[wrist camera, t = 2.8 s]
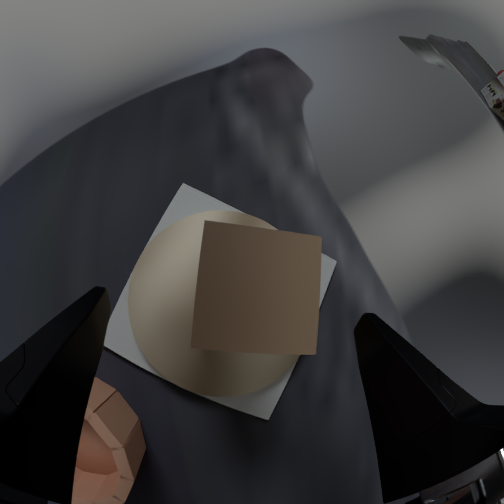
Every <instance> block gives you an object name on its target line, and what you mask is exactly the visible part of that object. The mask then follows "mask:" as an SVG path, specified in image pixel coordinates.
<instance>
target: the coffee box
mask: <svg viewBox="0 0 504 504" xmlns="http://www.w3.org/2000/svg"><path fill="white" fill-rule="evenodd" d="M481 93H482V94H483V96H484V98H485V100H486V102H487V103H488V105H489V107H490V109H491V110H492V111H494V112H495V113H496V114H497V115H498V116H499V117H500V118H501V119H502V120H503V121H504V71H503V72H502V73H501V74H500V75H499V76H497V77H496V78H495V79H494V80H493V81H492V82H490V83H489V84H488V85H487V86H486V87H484V88H483V89H482V90H481Z"/></svg>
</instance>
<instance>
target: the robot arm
mask: <svg viewBox="0 0 504 504" xmlns="http://www.w3.org/2000/svg"><path fill="white" fill-rule="evenodd" d="M110 313H111V304H110V299H109V293H108V290H107V288H104V287H98V286H96V287H94V288H93V289H91V290H90V291H88V292H87V293H86V294H84V295H83V296H82V297H80V298H79V299H78V300H76V301H75V302H74V303H73V304H71V305H70V306H69V307H67V308H66V309H65V310H63V311H62V312H61V313H60V314H58V315H57V316H56V317H54V318H53V319H52V320H51V321H49V322H48V323H47V324H46V325H44V326H43V327H42V328H41V329H40V330H38V331H37V332H36V333H35V334H33V335H32V336H31V337H30V338H29V339H27V340H26V341H25V343H23V344H21V345H20V346H19V347H18V348H17V349H16V350H14V351H13V352H12V353H11V354H10V355H8V356H7V357H6V358H5V359H3V360H2V361H1V362H0V504H48V500H49V501H53V502H56V503H60V504H72V493H73V483H74V475H75V468H76V461H77V454H78V448H79V442H80V437H81V432H82V427H83V422H84V418H85V413H86V409H87V405H88V401H89V397H90V393H91V389H92V385H93V382H94V378H95V374H96V371H97V368H98V364H99V361H100V358H101V354H102V350H103V346H104V341H105V336H106V331H107V326H108V322H109V318H110ZM354 338H355V344H356V351H357V358H358V364H359V370H360V374H361V379H362V383H363V387H364V391H365V396H366V400H367V405H368V410H369V415H370V420H371V425H372V430H373V435H374V441H375V447H376V452H377V459H378V466H379V473H380V480H381V488H382V496H383V502H384V504H385V503H388V502H392V501H395V500H398V499H401V498H404V497H407V496H410V495H412V494H415V493H418V492H419V494H420V496H418V497H417V498H415V499H413V500H411V501H408V502H406V503H405V504H504V406H503V405H487V404H483V403H481V402H479V401H478V400H477V399H475V398H474V397H473V396H471V395H470V394H469V393H467V392H466V391H465V390H464V389H462V388H461V387H460V386H459V385H457V384H456V383H454V382H453V381H452V380H451V379H450V378H449V377H448V376H446V375H445V374H444V373H443V372H442V371H441V370H440V369H438V368H437V367H436V366H435V365H434V364H433V363H432V362H430V361H429V360H428V359H427V358H426V357H425V356H424V355H423V354H421V353H420V352H419V351H418V350H417V349H416V348H415V347H413V346H412V345H411V344H410V343H409V342H408V341H406V340H405V339H404V338H403V337H402V336H401V335H399V334H398V333H397V332H396V331H395V330H393V329H392V328H391V327H390V326H389V325H388V324H386V323H385V322H384V321H383V320H382V319H380V318H379V317H378V316H377V315H376V314H374V313H364V314H363V315H362V316H361V318H360V320H359V321H358V323H357V325H356V326H355V328H354Z"/></svg>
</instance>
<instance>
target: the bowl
mask: <svg viewBox="0 0 504 504" xmlns="http://www.w3.org/2000/svg"><path fill="white" fill-rule="evenodd" d="M145 450H146V445H145V441H144V437H143V432H142V428H141V423H140V419H139V417H138V416H137V415H136V414H135V413H134V411H133V410H132V409H131V407H130V406H129V405H128V404H127V402H126V401H125V400H124V398H123V397H122V396H121V394H120V393H119V392H118V391H116V389H115V388H113V387H111V386H110V385H108V384H106V383H105V382H103V381H101V380H100V379H98V378H97V377H95V378H94V382H93V385H92V389H91V393H90V397H89V401H88V405H87V409H86V413H85V418H84V422H83V427H82V432H81V437H80V442H79V448H78V454H77V461H76V468H75V475H74V483H73V493H72V504H123V503H124V502H125V501H126V499H127V497H128V494H129V492H130V490H131V488H132V485H133V483H134V481H135V478H136V475H137V472H138V469H139V467H140V464H141V461H142V458H143V455H144V453H145Z"/></svg>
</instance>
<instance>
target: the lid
mask: <svg viewBox="0 0 504 504" xmlns="http://www.w3.org/2000/svg"><path fill="white" fill-rule="evenodd" d="M321 250H322V237H319V236H313V235H306V234H300V233H293V232H287V231H280V230H277V229H276V228H275V227H273V226H271V225H270V224H268V223H267V222H265V221H263V220H261V219H259V218H256V217H254V216H251V215H248V214H245V213H240V212H235V211H225V210H216V211H206V212H200V213H196V214H193V215H190V216H187V217H184V218H182V219H180V220H178V221H176V222H174V223H173V224H171V225H169V226H168V227H166V228H165V229H164V230H162V231H161V232H160V233H159V234H158V235H157V236H155V238H154V239H153V240H152V241H151V242H150V243H149V244H148V245H147V247H146V248H145V250H144V251H143V253H142V254H141V256H140V257H139V259H138V261H137V263H136V265H135V268H134V271H133V274H132V277H131V280H130V285H129V291H128V314H129V320H130V324H131V329H132V332H133V334H134V337H135V340H136V342H137V344H138V346H139V348H140V349H141V351H142V353H143V354H144V356H145V357H146V359H147V360H148V361H149V363H150V364H151V365H152V366H153V367H154V368H155V369H156V370H157V371H158V372H159V373H160V374H161V375H163V376H164V377H165V378H166V379H168V380H169V381H171V382H172V383H174V384H176V385H177V386H179V387H181V388H184V389H186V390H188V391H191V392H194V393H198V394H201V395H206V396H213V397H232V396H239V395H244V394H248V393H251V392H254V391H257V390H259V389H261V388H264V387H266V386H267V385H269V384H271V383H273V382H274V381H276V380H277V379H278V378H280V377H281V376H282V375H283V374H285V373H286V372H287V371H288V370H289V369H290V368H291V366H292V365H293V364H294V363H295V362H296V360H297V359H298V358H299V356H300V355H316V345H317V333H318V319H319V303H320V282H321Z"/></svg>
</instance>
